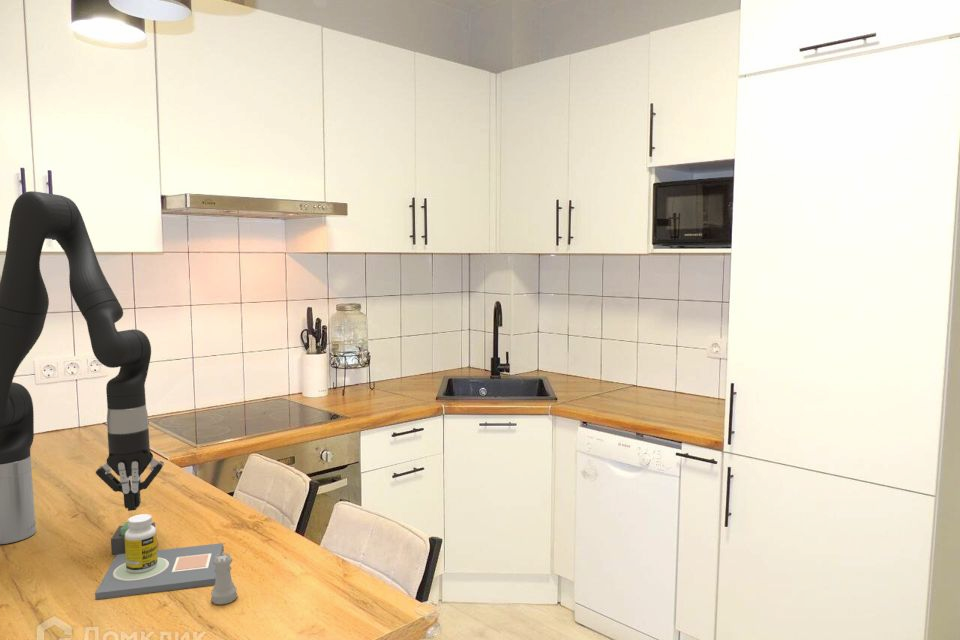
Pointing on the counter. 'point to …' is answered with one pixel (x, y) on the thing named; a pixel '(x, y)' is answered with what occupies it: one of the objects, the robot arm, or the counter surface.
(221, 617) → the counter surface
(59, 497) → the counter surface
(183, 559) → the picture board
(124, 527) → the button
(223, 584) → the rook chess piece
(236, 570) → the counter surface
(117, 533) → the button housing
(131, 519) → the supplement bottle
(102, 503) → the counter surface
